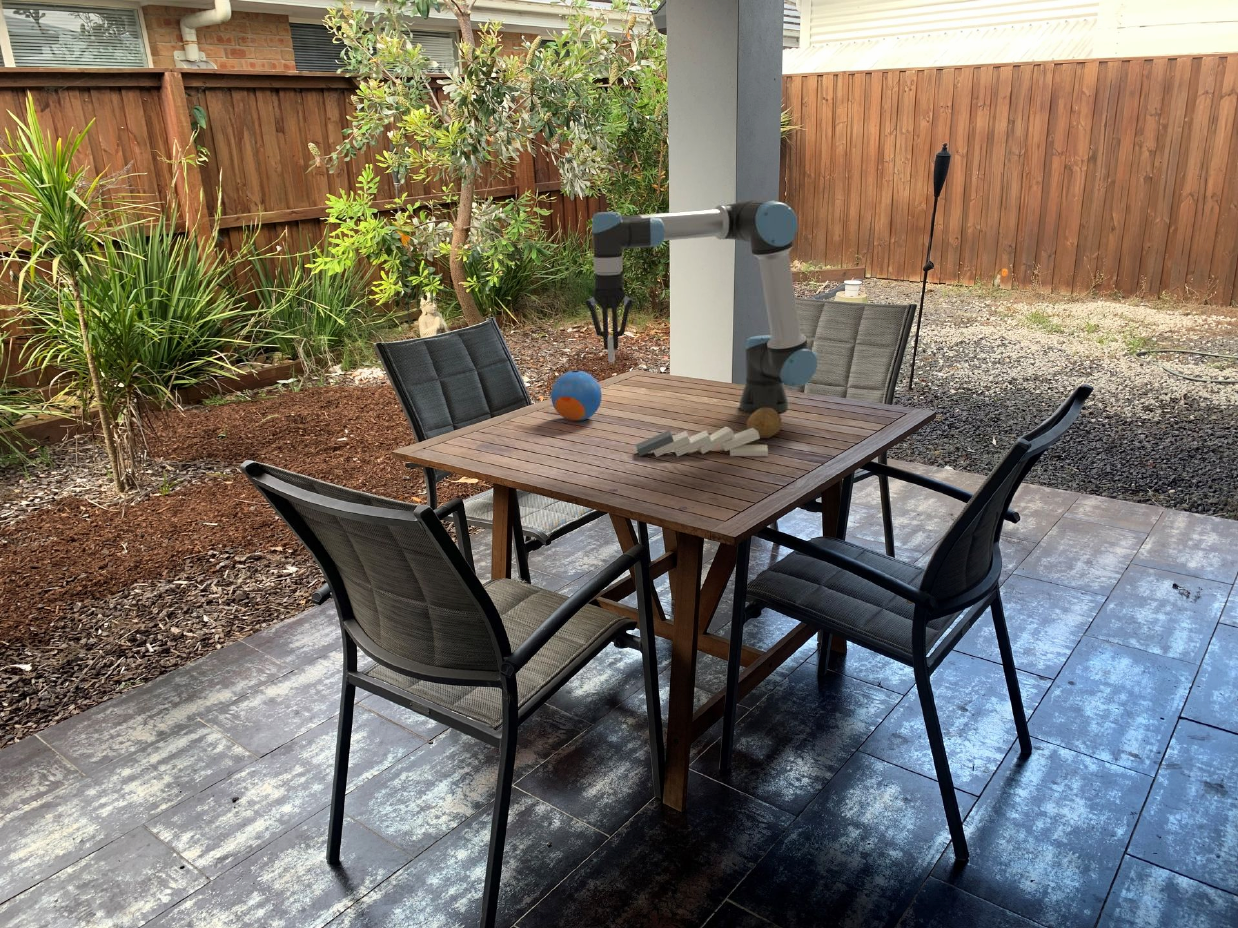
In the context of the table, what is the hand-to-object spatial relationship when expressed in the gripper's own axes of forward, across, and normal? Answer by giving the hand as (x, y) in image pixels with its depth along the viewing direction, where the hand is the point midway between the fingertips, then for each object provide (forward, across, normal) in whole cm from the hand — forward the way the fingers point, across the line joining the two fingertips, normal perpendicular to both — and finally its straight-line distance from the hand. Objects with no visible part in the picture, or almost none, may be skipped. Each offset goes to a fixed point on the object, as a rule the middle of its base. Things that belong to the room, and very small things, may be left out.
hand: (611, 361), depth 247 cm
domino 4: (+23, -24, +6) cm, 34 cm away
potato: (+25, -42, -9) cm, 50 cm away
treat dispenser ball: (+25, +14, -28) cm, 40 cm away
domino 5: (+23, -30, +5) cm, 38 cm away
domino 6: (+24, -32, +6) cm, 40 cm away
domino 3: (+23, -17, +7) cm, 30 cm away
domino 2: (+24, -12, +7) cm, 27 cm away
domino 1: (+23, -7, +7) cm, 25 cm away
